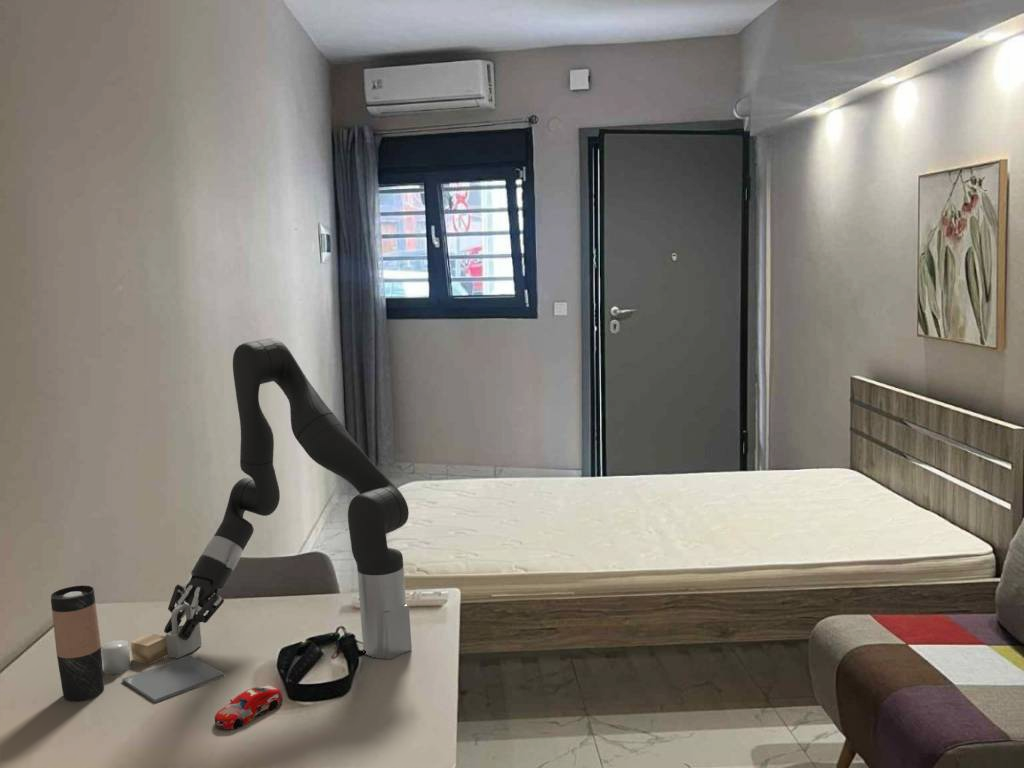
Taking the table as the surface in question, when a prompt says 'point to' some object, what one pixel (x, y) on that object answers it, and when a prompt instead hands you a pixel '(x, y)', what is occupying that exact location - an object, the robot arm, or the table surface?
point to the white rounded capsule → (115, 657)
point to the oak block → (149, 648)
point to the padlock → (178, 645)
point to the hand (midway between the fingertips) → (175, 635)
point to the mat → (172, 678)
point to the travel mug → (77, 642)
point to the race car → (248, 707)
